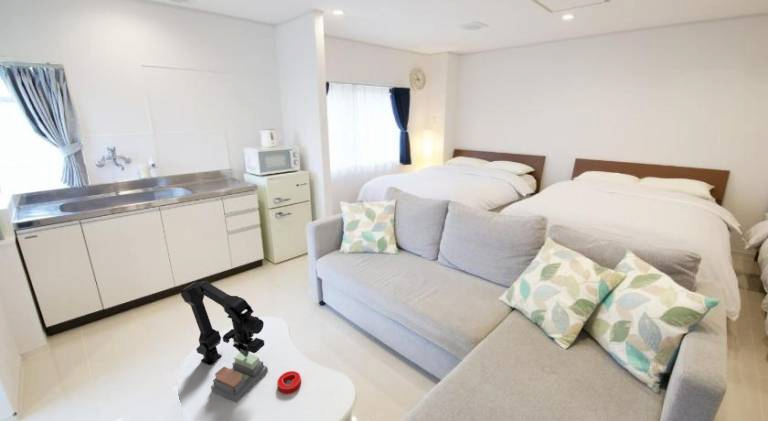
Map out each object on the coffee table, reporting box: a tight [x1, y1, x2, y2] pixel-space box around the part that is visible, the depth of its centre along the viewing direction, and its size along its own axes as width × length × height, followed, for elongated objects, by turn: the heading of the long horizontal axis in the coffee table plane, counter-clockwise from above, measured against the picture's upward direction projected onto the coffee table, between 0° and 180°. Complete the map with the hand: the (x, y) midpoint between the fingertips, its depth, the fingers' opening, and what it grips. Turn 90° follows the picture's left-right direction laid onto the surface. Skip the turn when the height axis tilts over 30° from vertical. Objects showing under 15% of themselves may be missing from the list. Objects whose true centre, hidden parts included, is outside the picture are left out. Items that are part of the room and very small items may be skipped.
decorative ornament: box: [276, 370, 302, 395], centre depth 143 cm, size 10×10×3 cm
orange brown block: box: [214, 366, 242, 388], centre depth 139 cm, size 10×4×4 cm, turn 65°
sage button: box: [234, 352, 261, 371], centre depth 148 cm, size 10×4×4 cm, turn 65°
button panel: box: [210, 360, 269, 404], centre depth 145 cm, size 14×18×6 cm
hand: (246, 356), depth 147 cm, fingers closed
